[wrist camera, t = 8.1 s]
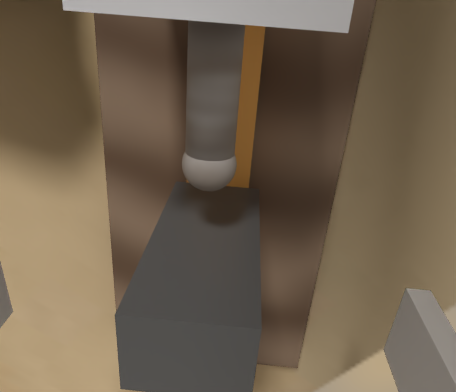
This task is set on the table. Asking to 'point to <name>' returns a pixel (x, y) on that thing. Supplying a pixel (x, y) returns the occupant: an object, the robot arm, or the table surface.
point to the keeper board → (276, 155)
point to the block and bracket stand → (206, 228)
